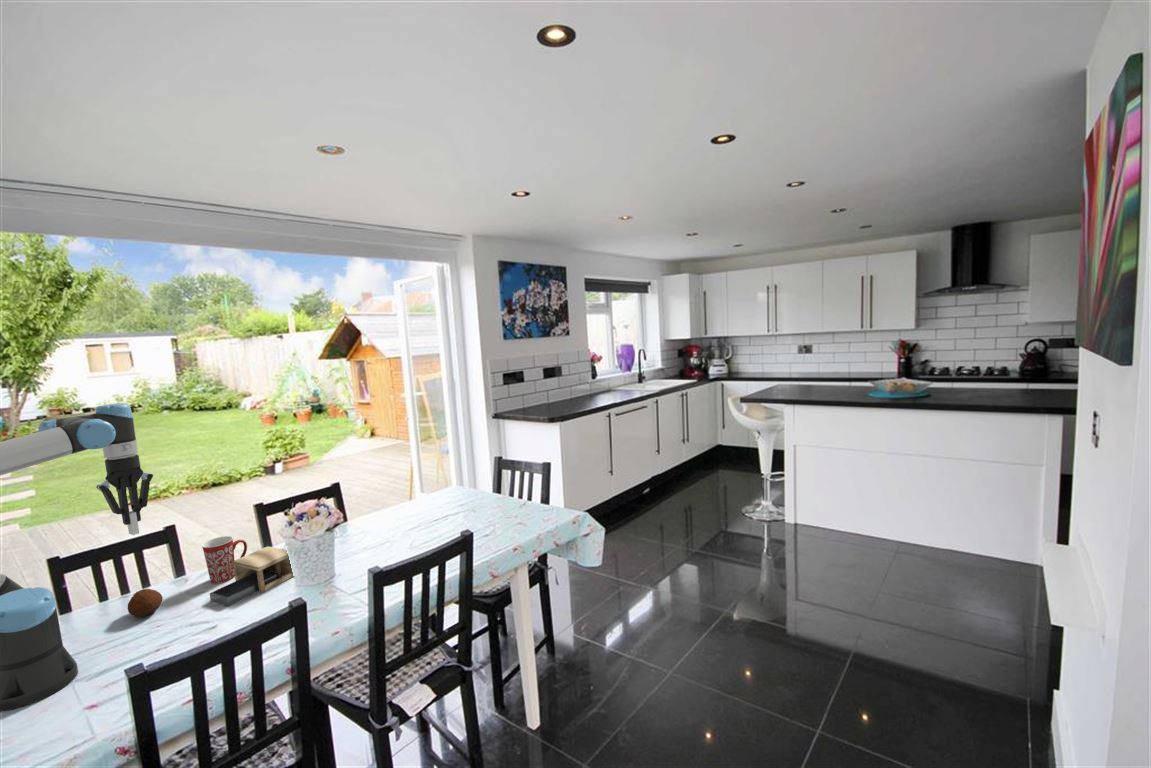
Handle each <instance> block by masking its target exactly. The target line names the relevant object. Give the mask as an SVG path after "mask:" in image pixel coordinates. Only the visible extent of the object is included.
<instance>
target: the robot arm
mask: <svg viewBox="0 0 1151 768" xmlns="http://www.w3.org/2000/svg"><path fill="white" fill-rule="evenodd" d="M100 449H102V453H103V457H104V459H105V460H104V465H105V470H106V476H105V480H104V481H103V482H102V483H101V484H97V485H96V489H97V490H98V491H100V492H101V493H102V495H103V497H104V499H105V500H106V503H107V504H108V506H109V508H110V510H111V512H112V513H113V514H116V515H121V519H122V524H124V526H127V530H128V534H129V535H132V536H135V535H137V534H140V530H139V529H140V528H139V523H138V522H141V521H142V517H141V511H142V509H143V508H146V507H147V506H148V502H149V501H148V500H149V499H148V498H149V493H150V486H151V481H152V479H153V477H154V475H153V474H152V473H148V472H144V470H143V469H142V468H141V461H140V456H139V454H138V452H139V450H138V443H137V438H136V431H135V423H134V416H133V412H132V408H131V406H130V404H128V403H124V402H117V403H111V404H110V403H109V404H103V405H98V406H97V407H96V408H95V413H90V414H86V415H77V416H69V417H62V418H54V419H49V420H44V421H41V422H40V423H39V425H38V429H37V432H34V433H33V432H32V433H30V434H25V435H22V436H18V437H14V438H11V439H7V440H2V441H0V476H4V475H7V474H10V473H13V472H17V471H20V470H23V469H27V468H30V467H33V466H36V465H39V464H43V463H47V462H49V461H52V460H56V459H60V458H64V457H67V456H69V455H73V454H77V453H81V452H83V451H88V450H100ZM140 480H141V483H140V489H139V493H138V482H139V481H140ZM111 486H112V487H114V488H115V490H116V492H117V497H118V499H117V500H118V502H117V500H116V498H115V496H114V494H113V492H112V490H111V489H110V488H111ZM127 492H128V493H127ZM128 497H129V500H128ZM129 503H130V507H129ZM130 508H131V510H130ZM78 674H79V669H78V664H77V662H76V660H75V658H73V656H72V655H71V654H70V653H69V651H68V650H67V649H66V647H64V643H63V639H62V633H61V627H60V620H59V616H58V610H57V601H56V598H55V596H54V594H53V592H52V590H50V589H49V588H47V587H42V586H41V587H40V586H36V587H23V586H21V585H20V584H19V583H17V582H15V581H14V580H12V579H11V578H9V577H8V576H7V575H6V574H3V573H0V712H2V711H9V710H14V709H18V708H21V707H25V706H29V705H30V704H33V703H36V702H38V701H41V700H43V699H45V698H47V697H49V696H51V695H53V694H55V693H56V692H59V691H60V690H62V689H63V688H65V687H66V686H67V685H69V684H70V683H71V682H72V681H74V680H75V679H76V677H77V676H78Z"/></svg>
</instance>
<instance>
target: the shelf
mask: <svg viewBox="0 0 1151 768" xmlns="http://www.w3.org/2000/svg"><path fill="white" fill-rule="evenodd" d="M287 551H288V550H286V549H283V548H282V549H281V548H277V547H274V546H273V547H272V546H270V545H268V546H264V547H263V548H259V549H258V550H256V551H253V552H251V553H249V554H245V556H244V557H242V558H240V557H239V558H237V559H234V560H235V561H233V566H234V573H235V577H234V578H235V581H237V580H239V579H242V578H244V577H246V576H248V575H250V574H252V573H254V572H257V578H258V586H259V594H263V593H265V592H266V591H267V590H270V589H271V588H274V587H276V586H277V585H280V584H281V583H283V582H285V581H287V580H289V579H291V578H294V577H293V572H292V568H291V564H290V560H289V556H288V553H287ZM263 571H265V572H269V573H272V574H276V575H277V579H276V580H274V581H272V582H270V583H268V584H266V585H264V577H263Z"/></svg>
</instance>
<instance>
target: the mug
mask: <svg viewBox="0 0 1151 768" xmlns="http://www.w3.org/2000/svg"><path fill="white" fill-rule="evenodd" d="M233 540H234V537H233V536H232V535H225V536H224V535H223V536H219V537H213V538H212V539H208V540H207V541H204V542H203V543H202V544H201V548H202V551H203V555H204V560H205V562H206V567H207V571H208V576H209V580H210V583H212V584H221V583H225V582H227V581H230V580H232V579H234V578H235V573H234V566H233V561H235V560H236V559H235V552H234V550H235V549H236V547H237V545H238V544H239V543H242V544H243V551H242V553H241V555H240V557H239V558H242V557H244V556H246V555H247V551H248V544H247V542H246V541H245V540H244V539H237V540H235V541H233Z"/></svg>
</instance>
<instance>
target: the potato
mask: <svg viewBox="0 0 1151 768" xmlns="http://www.w3.org/2000/svg"><path fill="white" fill-rule="evenodd" d="M163 600H164V599H163V595H162V594H161V592H159V591H157V590H155V589H151V588H143V589H139V590H138V591H136V592H134V593H133V595H132V597H130V599H129V601H128V605H127V608H126V609H127V611H128V613H129V614H130V615H131V616H133V617H137V618H139V617H145V616H147V615H151V614H153V613H154V612H156V610H158V608H160V606H161V604H162V602H163Z"/></svg>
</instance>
